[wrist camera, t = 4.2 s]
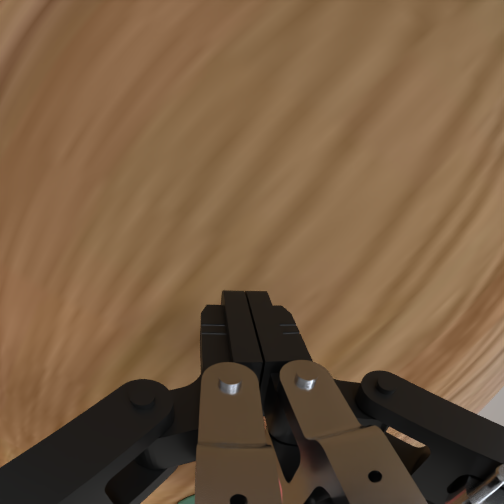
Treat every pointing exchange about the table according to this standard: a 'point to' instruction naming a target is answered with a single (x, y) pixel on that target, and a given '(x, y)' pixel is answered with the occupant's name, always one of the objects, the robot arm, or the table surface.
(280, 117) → the table surface
